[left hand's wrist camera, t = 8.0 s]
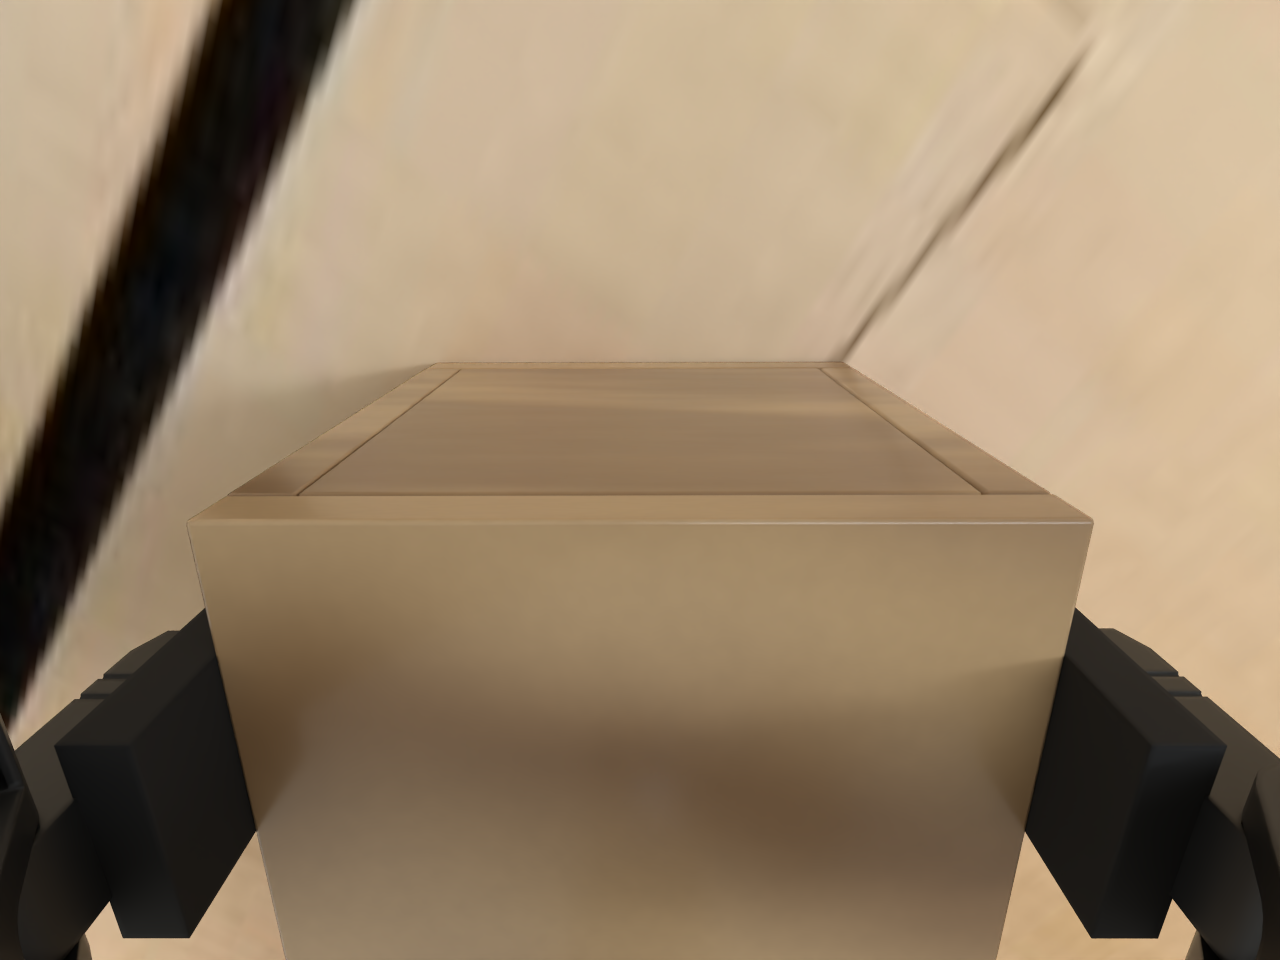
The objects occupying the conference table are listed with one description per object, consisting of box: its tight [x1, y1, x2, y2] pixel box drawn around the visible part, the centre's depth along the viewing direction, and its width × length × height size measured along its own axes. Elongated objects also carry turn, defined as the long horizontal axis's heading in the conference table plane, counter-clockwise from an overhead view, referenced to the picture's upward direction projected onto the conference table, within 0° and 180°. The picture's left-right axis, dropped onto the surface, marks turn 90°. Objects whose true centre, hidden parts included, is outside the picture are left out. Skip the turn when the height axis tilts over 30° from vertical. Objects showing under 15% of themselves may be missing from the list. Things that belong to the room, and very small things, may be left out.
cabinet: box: [187, 362, 1094, 960], centre depth 16 cm, size 21×10×10 cm, turn 0°
